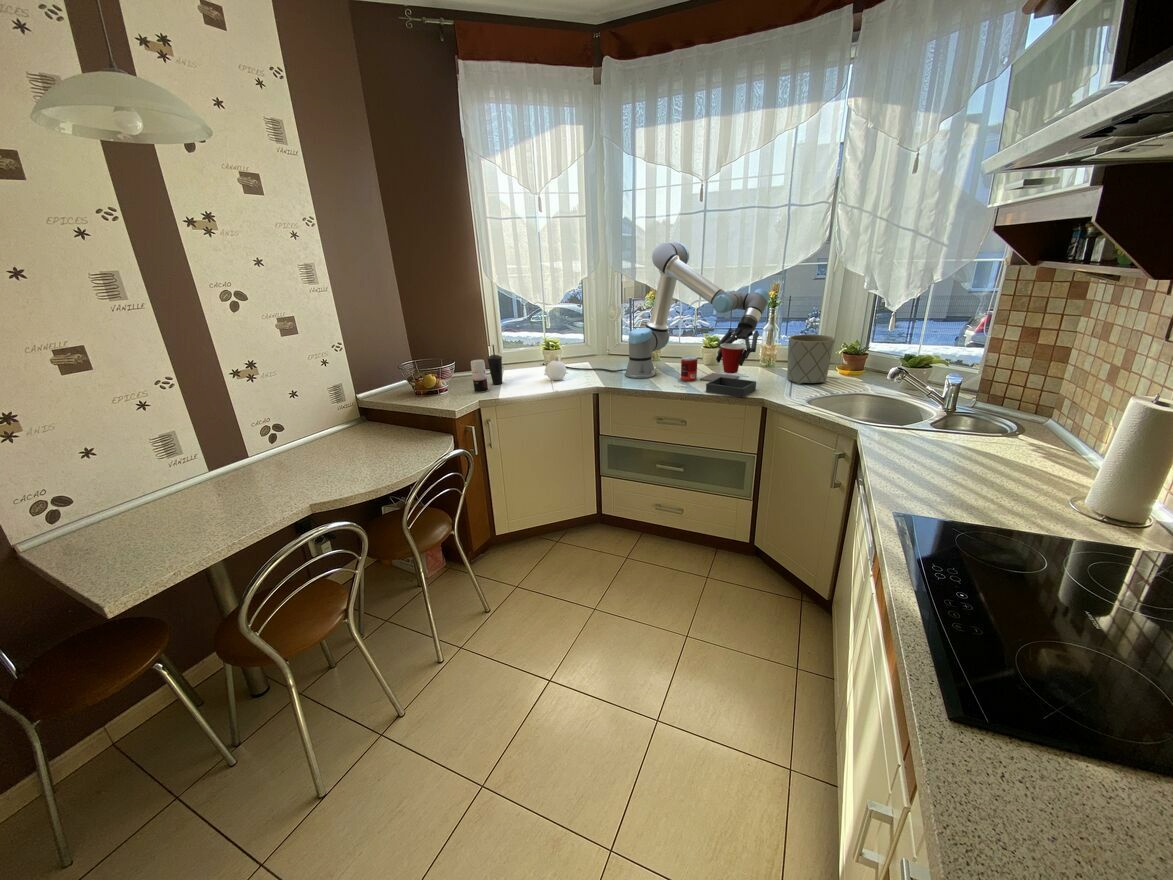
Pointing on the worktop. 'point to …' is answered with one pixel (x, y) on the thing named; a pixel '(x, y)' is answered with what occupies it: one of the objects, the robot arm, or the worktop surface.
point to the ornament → (556, 369)
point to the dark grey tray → (731, 387)
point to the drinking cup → (495, 368)
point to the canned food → (688, 368)
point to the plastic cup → (731, 356)
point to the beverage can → (479, 376)
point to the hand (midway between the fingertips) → (728, 362)
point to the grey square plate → (717, 376)
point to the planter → (809, 358)
